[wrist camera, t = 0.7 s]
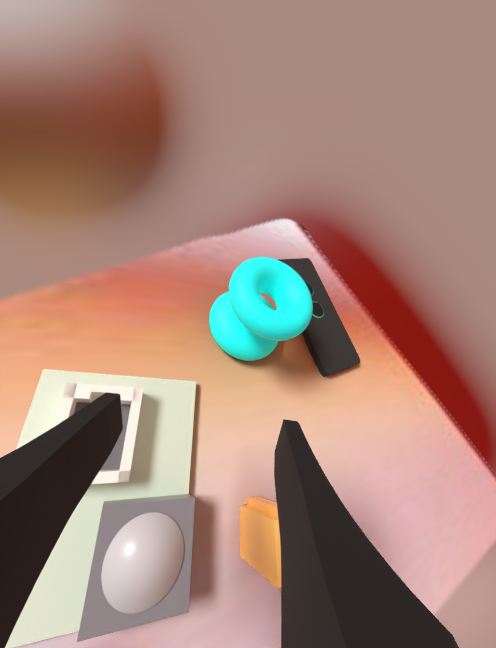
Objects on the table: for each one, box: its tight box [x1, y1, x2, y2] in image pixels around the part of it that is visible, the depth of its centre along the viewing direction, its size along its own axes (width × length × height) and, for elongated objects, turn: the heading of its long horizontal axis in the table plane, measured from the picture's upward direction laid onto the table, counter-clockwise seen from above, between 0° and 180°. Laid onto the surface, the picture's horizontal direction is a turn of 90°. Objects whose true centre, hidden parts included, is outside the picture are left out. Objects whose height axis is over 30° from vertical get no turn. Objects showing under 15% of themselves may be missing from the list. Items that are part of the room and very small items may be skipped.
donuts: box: [209, 257, 313, 361], centre depth 31 cm, size 10×10×10 cm
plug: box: [240, 497, 281, 589], centre depth 23 cm, size 5×3×7 cm, turn 2°
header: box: [54, 383, 143, 484], centre depth 22 cm, size 8×6×2 cm
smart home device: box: [279, 258, 360, 377], centre depth 42 cm, size 8×2×20 cm
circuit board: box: [5, 369, 196, 648], centre depth 22 cm, size 18×14×1 cm
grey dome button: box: [77, 494, 195, 642], centre depth 20 cm, size 7×7×3 cm
